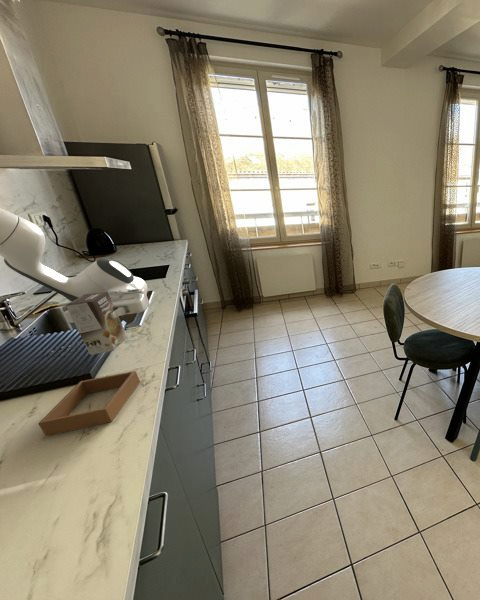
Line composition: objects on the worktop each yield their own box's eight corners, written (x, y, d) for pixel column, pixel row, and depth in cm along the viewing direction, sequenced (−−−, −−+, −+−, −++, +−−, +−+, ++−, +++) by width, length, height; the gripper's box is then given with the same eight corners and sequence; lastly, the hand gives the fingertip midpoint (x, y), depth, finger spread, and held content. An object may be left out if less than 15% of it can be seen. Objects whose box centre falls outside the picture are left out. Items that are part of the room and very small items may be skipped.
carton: (45, 436, 79) (37, 423, 77) (86, 392, 94) (80, 381, 93) (111, 421, 82) (105, 409, 81) (140, 381, 98) (135, 370, 96)
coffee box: (115, 350, 97) (91, 301, 91) (89, 355, 96) (64, 305, 89) (128, 336, 105) (108, 290, 99) (105, 340, 104) (82, 294, 97)
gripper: (75, 298, 104) (46, 315, 92) (148, 288, 110) (131, 303, 97) (84, 316, 107) (57, 335, 95) (155, 305, 112) (138, 322, 100)
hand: (95, 319), depth 96 cm, fingers closed on coffee box, 6 cm apart
